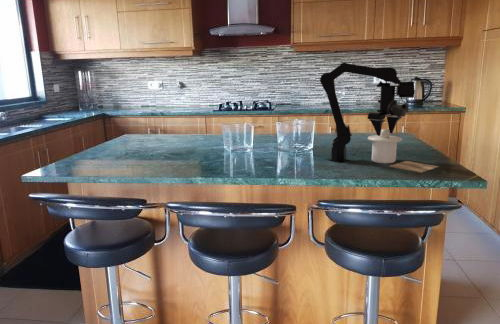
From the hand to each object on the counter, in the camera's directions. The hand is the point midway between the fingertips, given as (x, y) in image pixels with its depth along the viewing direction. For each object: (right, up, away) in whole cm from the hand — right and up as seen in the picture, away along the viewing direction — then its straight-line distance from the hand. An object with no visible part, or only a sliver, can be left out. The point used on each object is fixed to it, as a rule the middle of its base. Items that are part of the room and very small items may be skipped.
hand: (385, 134), depth 168 cm
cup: (0, -12, +3) cm, 12 cm away
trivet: (+9, -14, -8) cm, 19 cm away
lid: (0, -2, +1) cm, 2 cm away
